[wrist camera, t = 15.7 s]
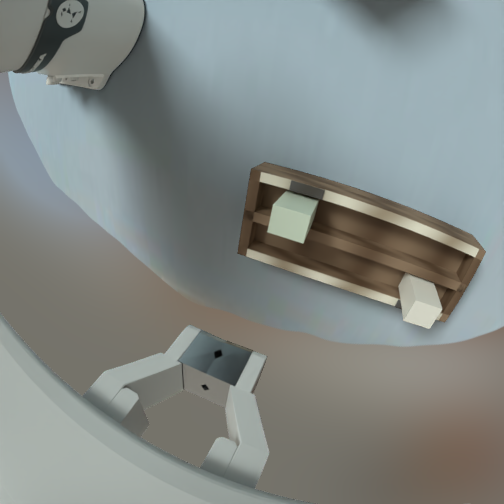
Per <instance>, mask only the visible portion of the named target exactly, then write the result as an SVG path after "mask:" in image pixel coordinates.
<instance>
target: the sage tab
mask: <svg viewBox="0 0 504 504" xmlns="http://www.w3.org/2000/svg"><path fill="white" fill-rule="evenodd" d="M318 202H319V199H318V198H314V197H311V196H308V195H304V194H301V193H298V192H294V191H291V190H287V191H286V192H285V193H284V194H283V195H282V196H281V197H280V198H279V199H278V200H277V201H276V202H275V203H274V204H273V207H272V212H271V217H270V222H269V226H268V231H267V232H268V233H271V234H275V235H278V236H281V237H284V238H287V239H290V240H293V241H296V242H300V243H304V241H305V239H306V236H307V234H308V232H309V230H310V227H311V225H312V223H313V220H314V217H315V213H316V210H317V206H318Z"/></svg>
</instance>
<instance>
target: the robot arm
mask: <svg viewBox="0 0 504 504" xmlns="http://www.w3.org/2000/svg"><path fill="white" fill-rule="evenodd" d="M143 20H144V3H143V0H0V73H3V72H9V71H13V72H14V73H30V72H37V73H38V74H44V75H48V77H47V81H46V85H54V84H59V83H62V84H68V85H73V86H79V87H84V88H89V89H94V90H101V89H102V88H103V87H104V86H105V84H106V82H107V80H108V78H109V76H110V75H111V73H112V72H113V71H114V70H115V69H116V68H117V67H118V66H119V65H120V64H121V63H122V62H123V61H124V59H125V58H126V57H127V56H128V54H129V53H130V51H131V50H132V48H133V46H134V45H135V43H136V41H137V39H138V36H139V34H140V31H141V28H142V25H143ZM266 359H267V356H266V355H263V354H260V353H258V352H255V351H253V350H251V349H248V348H245V347H243V346H240V345H237V344H234V343H232V342H229V341H225V340H223V339H221V338H219V337H216V336H214V335H212V334H210V333H208V332H205V331H203V330H201V329H199V328H196V327H194V326H192V325H188V326H187V327H186V328H185V329H184V330H183V332H182V333H181V334H180V335H179V336H178V338H177V339H176V340H175V342H174V343H173V344H172V345H171V347H170V348H169V349H168V350H167V352H166V353H165V354H163V353H159V354H156V355H153V356H150V357H147V358H144V359H141V360H138V361H135V362H132V363H129V364H126V365H123V366H120V367H117V368H113V369H110V370H107V371H104V372H103V374H102V375H101V376H100V377H99V378H98V379H97V380H96V381H95V383H94V384H93V385H92V386H91V387H90V388H89V389H88V390H87V391H86V393H85V394H84V395H83V396H81V395H80V394H79V393H78V392H77V391H75V390H74V389H73V388H72V387H71V386H69V385H68V384H67V383H66V382H65V381H64V380H63V379H62V378H60V377H59V376H58V375H57V374H56V373H55V372H54V371H53V370H52V369H51V368H50V367H49V366H48V365H47V364H46V363H44V361H43V360H42V359H41V358H39V356H38V355H37V354H36V353H35V352H34V351H33V350H32V349H31V348H30V347H29V346H28V345H27V344H26V343H25V342H24V340H23V339H22V338H21V337H20V336H19V335H18V334H17V333H16V331H15V330H14V329H13V328H12V326H11V325H10V324H9V323H8V322H7V320H6V319H5V318H4V317H3V315H2V314H1V313H0V504H316V503H310V502H304V501H300V500H295V499H291V498H287V497H283V496H279V495H275V494H271V493H267V492H264V491H261V490H257V489H255V486H256V484H257V482H258V479H259V477H260V475H261V473H262V470H263V467H264V465H265V463H266V460H267V458H268V455H269V450H268V446H267V442H266V438H265V434H264V430H263V426H262V422H261V418H260V414H259V409H258V405H257V401H256V397H255V395H254V394H253V392H254V390H255V388H256V386H257V383H258V380H259V378H260V375H261V373H262V370H263V367H264V365H265V362H266ZM183 390H186V391H188V392H190V393H192V394H194V395H197V396H199V397H201V398H203V399H206V400H208V401H210V402H212V403H214V404H216V405H219V406H221V407H223V408H225V412H226V420H227V427H228V435H229V439H226V438H224V437H220V438H217V439H216V441H215V443H214V444H213V446H212V448H211V450H210V451H209V453H208V455H207V457H206V458H205V460H204V462H203V464H202V465H201V467H200V468H199V467H196V466H194V465H192V464H190V463H188V462H186V461H184V460H181V459H179V458H177V457H175V456H173V455H172V454H170V453H168V452H166V451H164V450H162V449H160V448H158V447H157V446H155V445H153V444H151V443H150V442H148V441H146V440H145V439H143V438H141V436H142V435H143V433H144V432H145V431H146V429H147V427H148V426H149V422H148V419H147V417H146V414H145V412H144V410H145V409H147V408H149V407H151V406H154V405H156V404H158V403H160V402H162V401H164V400H166V399H168V398H170V397H172V396H174V395H176V394H178V393H180V392H182V391H183Z"/></svg>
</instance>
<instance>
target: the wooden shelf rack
mask: <svg viewBox="0 0 504 504" xmlns="http://www.w3.org/2000/svg"><path fill="white" fill-rule="evenodd" d="M287 190H291V191H294V192H298V193H301V194H304V195H308V196H311V197H314V198H318V199H319V202H318V206H317V210H316V213H315V217H314V220H313V223H312V225H311V227H310V230H309V232H308V234H307V236H306V239H305V241H304V243H300V242H296V241H293V240H290V239H287V238H284V237H281V236H278V235H275V234H271V233H268V232H267V231H268V226H269V222H270V217H271V212H272V207H273V204H274V203H275V202H276V201H277V200H278V199H279V198H280V197H281V196H282V195H283V194H284V193H285V192H286V191H287ZM485 253H486V251H485V250H484V249H483V247H482V246H481V245H480V244H479V242H478V241H477V240H476V239H475V237H474V236H473V235H471V234H469V233H467V232H465V231H463V230H461V229H458V228H456V227H454V226H452V225H450V224H447V223H445V222H443V221H441V220H438V219H436V218H434V217H431V216H429V215H426V214H424V213H422V212H419V211H417V210H414V209H412V208H409V207H407V206H404V205H401V204H399V203H396V202H393V201H391V200H388V199H385V198H383V197H380V196H377V195H374V194H371V193H368V192H365V191H363V190H360V189H357V188H354V187H351V186H347V185H344V184H341V183H338V182H335V181H332V180H328V179H325V178H322V177H318V176H315V175H311V174H308V173H304V172H301V171H297V170H293V169H290V168H286V167H282V166H278V165H274V164H270V163H266V162H264V163H262V164H260V165H258V166H256V167H254V168H252V169H251V172H250V178H249V185H248V191H247V197H246V203H245V209H244V215H243V221H242V228H241V234H240V240H239V247H238V254H241V255H244V256H246V257H249V258H252V259H255V260H258V261H261V262H264V263H267V264H270V265H273V266H276V267H279V268H282V269H285V270H288V271H290V272H293V273H296V274H299V275H302V276H305V277H308V278H311V279H314V280H317V281H320V282H323V283H326V284H329V285H332V286H335V287H338V288H341V289H344V290H347V291H350V292H353V293H356V294H359V295H362V296H365V297H368V298H371V299H374V300H377V301H380V302H384V303H387V304H390V305H393V306H395V307H397V308H400V309H402V306H401V300H400V293H399V287H398V286H399V284H400V282H401V280H402V278H403V276H404V274H405V272H407V273H410V274H412V275H415V276H418V277H421V278H423V279H426V280H429V281H432V282H434V285H435V288H436V291H437V294H438V297H439V300H440V303H441V306H442V311H441V312H440V314H439V316H438V317H437V319H436V320H439V321H442V322H445V321H446V320H447V318H448V317H449V315H450V314H451V312H452V311H453V309H454V308H455V306H456V305H457V303H458V301H459V300H460V298H461V297H462V295H463V293H464V292H465V290H466V288H467V286H468V285H469V283H470V281H471V279H472V278H473V276H474V274H475V272H476V270H477V268H478V266H479V265H480V263H481V261H482V259H483V257H484V255H485Z"/></svg>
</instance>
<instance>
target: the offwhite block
mask: <svg viewBox="0 0 504 504" xmlns="http://www.w3.org/2000/svg"><path fill="white" fill-rule="evenodd" d="M398 287H399V293H400V300H401V306H402V314H403V321H406V322H409V323H412V324H415V325H418V326H422V327H425V328H428V329H430V327H431V326H432V324H433V323H434V322H435V320H436V319H437V317H438V316H439V314H440V312H441V311H442V306H441V303H440V300H439V297H438V294H437V291H436V288H435V285H434V282H432V281H429V280H426V279H423V278H421V277H418V276H415V275H412V274H410V273H407V272H405V274H404V276H403V278H402V280H401V282H400V284H399V286H398Z"/></svg>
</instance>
